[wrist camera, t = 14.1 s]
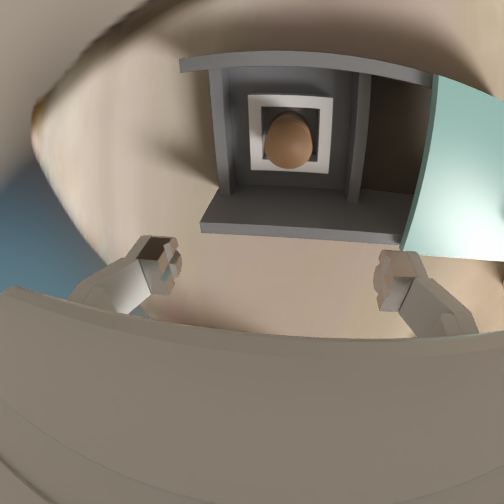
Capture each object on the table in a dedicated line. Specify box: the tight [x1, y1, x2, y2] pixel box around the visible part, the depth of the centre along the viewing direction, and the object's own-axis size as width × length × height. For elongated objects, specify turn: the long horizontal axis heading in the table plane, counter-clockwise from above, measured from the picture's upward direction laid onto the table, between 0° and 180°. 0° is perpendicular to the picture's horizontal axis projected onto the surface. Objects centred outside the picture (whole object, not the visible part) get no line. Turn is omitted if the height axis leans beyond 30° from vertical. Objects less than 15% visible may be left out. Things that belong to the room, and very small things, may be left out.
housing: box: [179, 51, 433, 245], centre depth 23 cm, size 16×35×10 cm, turn 92°
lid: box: [399, 74, 504, 262], centre depth 16 cm, size 16×15×4 cm
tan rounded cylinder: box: [264, 111, 312, 169], centre depth 24 cm, size 4×4×7 cm
